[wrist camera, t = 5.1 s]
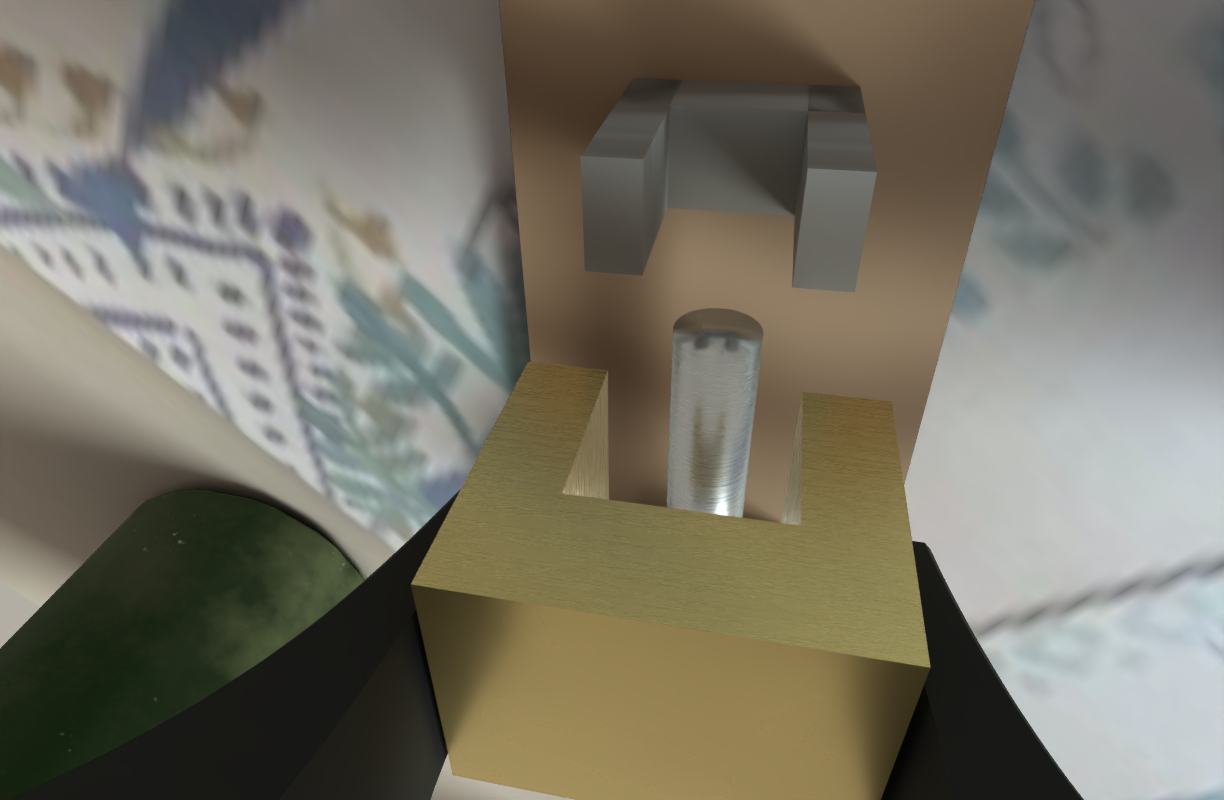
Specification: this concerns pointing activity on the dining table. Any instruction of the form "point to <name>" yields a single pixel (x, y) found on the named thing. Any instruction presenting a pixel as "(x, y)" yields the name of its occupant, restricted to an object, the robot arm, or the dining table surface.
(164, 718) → the green bottle
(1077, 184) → the dining table surface
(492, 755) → the spacer
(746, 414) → the shaft
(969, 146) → the shaft bracket
